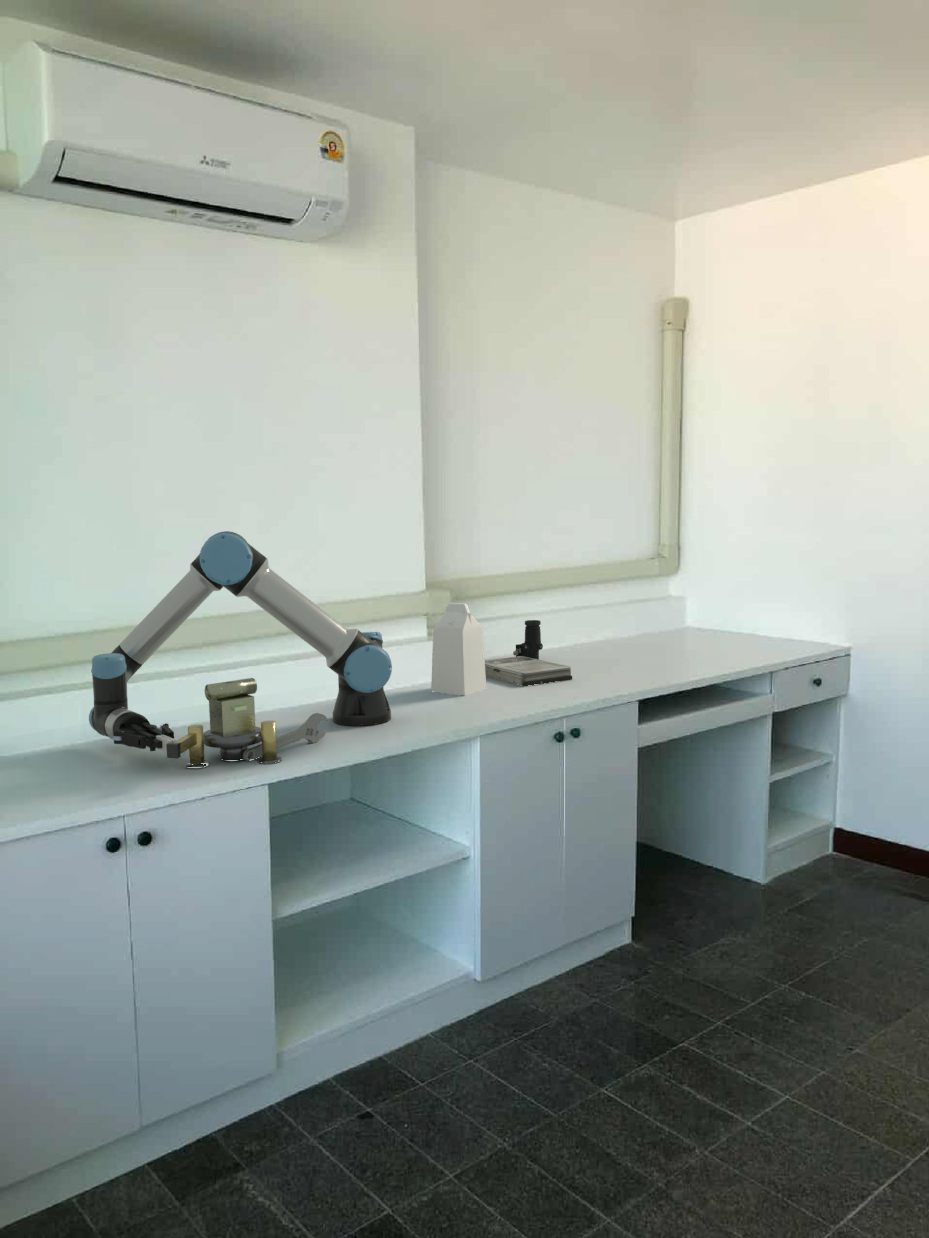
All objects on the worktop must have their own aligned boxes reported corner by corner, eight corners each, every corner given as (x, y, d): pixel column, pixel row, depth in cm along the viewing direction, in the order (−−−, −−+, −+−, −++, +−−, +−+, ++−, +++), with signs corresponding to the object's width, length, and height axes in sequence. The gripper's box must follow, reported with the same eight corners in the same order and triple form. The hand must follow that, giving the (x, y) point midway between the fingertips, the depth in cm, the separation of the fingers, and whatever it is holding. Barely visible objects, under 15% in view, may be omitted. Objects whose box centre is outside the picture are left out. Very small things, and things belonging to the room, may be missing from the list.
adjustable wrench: (246, 752, 224) (241, 751, 225) (252, 778, 225) (246, 777, 226) (325, 710, 242) (320, 709, 243) (330, 735, 244) (324, 734, 245)
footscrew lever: (193, 760, 224) (191, 724, 223) (207, 760, 223) (205, 724, 222) (166, 778, 210) (164, 740, 209) (180, 778, 209) (178, 740, 208)
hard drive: (524, 688, 305) (523, 673, 304) (475, 675, 327) (475, 661, 327) (572, 681, 314) (572, 666, 314) (521, 669, 337) (521, 655, 336)
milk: (486, 689, 302) (485, 602, 298) (464, 695, 292) (463, 606, 289) (453, 685, 308) (451, 600, 305) (431, 691, 299) (429, 604, 296)
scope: (526, 618, 355) (549, 620, 349) (526, 657, 357) (549, 660, 350) (511, 621, 349) (534, 623, 343) (512, 660, 351) (534, 663, 344)
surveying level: (239, 744, 240) (236, 671, 238) (286, 760, 225) (282, 682, 222) (165, 759, 228) (161, 682, 226) (208, 777, 212) (204, 695, 210)
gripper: (156, 739, 236) (202, 758, 218) (100, 748, 227) (143, 769, 209) (155, 707, 235) (201, 724, 217) (98, 716, 226) (141, 734, 208)
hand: (172, 746), depth 213 cm, fingers closed
